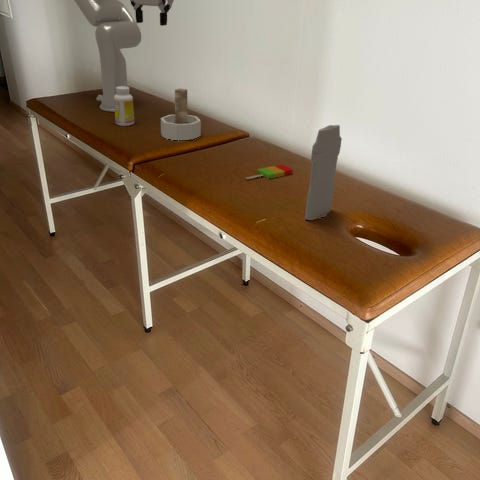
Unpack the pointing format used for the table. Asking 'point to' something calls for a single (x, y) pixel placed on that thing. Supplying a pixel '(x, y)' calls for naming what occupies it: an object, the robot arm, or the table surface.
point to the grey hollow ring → (180, 128)
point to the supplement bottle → (123, 106)
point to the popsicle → (273, 171)
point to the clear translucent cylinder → (181, 106)
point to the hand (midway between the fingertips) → (151, 24)
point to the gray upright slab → (323, 172)
